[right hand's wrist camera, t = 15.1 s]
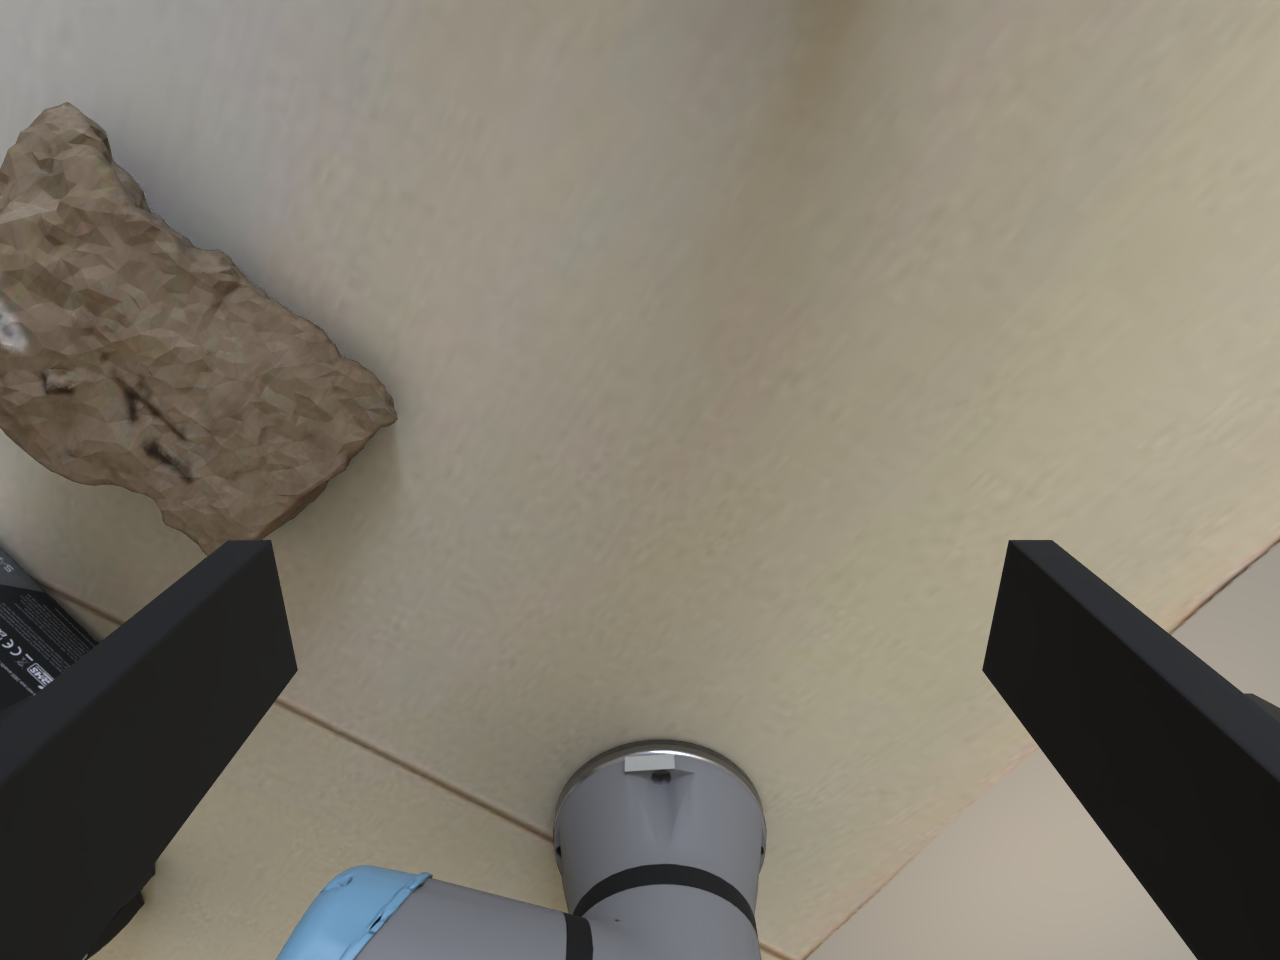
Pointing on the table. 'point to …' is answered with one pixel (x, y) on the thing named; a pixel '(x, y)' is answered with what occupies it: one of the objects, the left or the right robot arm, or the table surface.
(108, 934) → the robot
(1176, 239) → the table surface
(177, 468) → the stone
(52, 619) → the graphics card box
